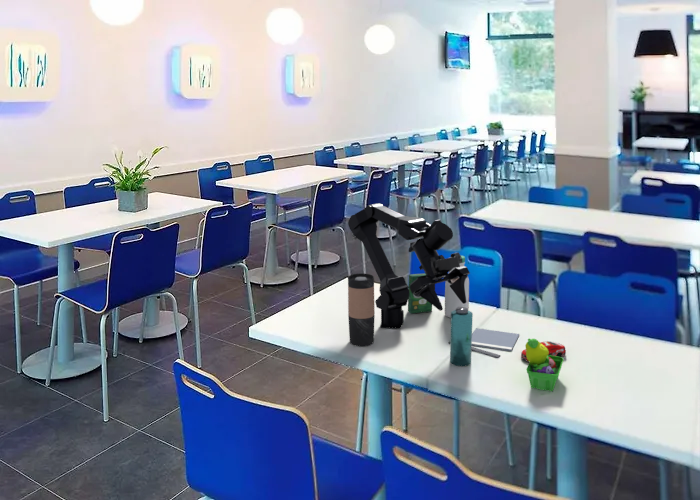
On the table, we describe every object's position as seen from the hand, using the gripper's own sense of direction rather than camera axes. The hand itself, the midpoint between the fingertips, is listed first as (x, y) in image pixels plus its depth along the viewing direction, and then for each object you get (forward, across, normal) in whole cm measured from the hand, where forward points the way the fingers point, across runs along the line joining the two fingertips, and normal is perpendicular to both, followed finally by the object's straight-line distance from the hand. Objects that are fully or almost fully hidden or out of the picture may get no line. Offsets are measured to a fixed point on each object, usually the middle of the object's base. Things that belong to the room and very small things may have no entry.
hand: (453, 306), depth 170 cm
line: (+12, +6, +6) cm, 15 cm away
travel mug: (-4, -16, +25) cm, 30 cm away
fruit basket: (+28, +4, -12) cm, 31 cm away
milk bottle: (-2, +22, +24) cm, 33 cm away
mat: (+11, +15, +8) cm, 20 cm away
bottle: (+14, -4, +4) cm, 15 cm away
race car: (+22, +17, -5) cm, 28 cm away
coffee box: (-9, +16, +32) cm, 37 cm away
